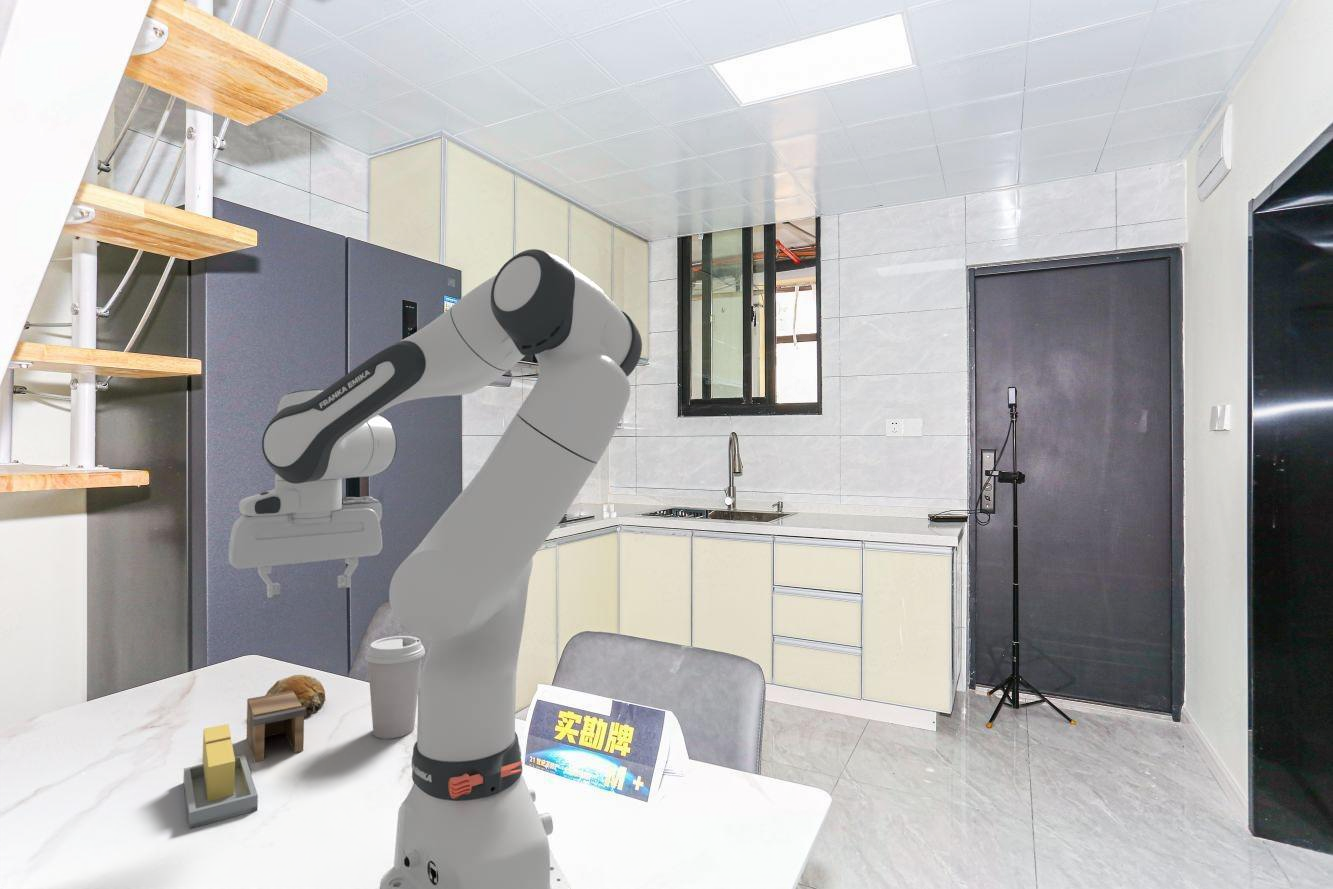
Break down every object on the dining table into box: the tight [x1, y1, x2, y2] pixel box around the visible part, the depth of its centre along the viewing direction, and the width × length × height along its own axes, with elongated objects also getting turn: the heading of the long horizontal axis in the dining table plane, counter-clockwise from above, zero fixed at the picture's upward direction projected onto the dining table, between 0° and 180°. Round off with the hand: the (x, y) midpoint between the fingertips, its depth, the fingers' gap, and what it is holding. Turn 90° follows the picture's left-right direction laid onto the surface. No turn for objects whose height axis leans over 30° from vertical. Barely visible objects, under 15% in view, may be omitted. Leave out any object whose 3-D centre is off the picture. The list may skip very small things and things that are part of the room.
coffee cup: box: [364, 635, 426, 740], centre depth 115 cm, size 10×10×15 cm
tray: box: [183, 754, 259, 830], centre depth 93 cm, size 14×7×2 cm, turn 38°
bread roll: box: [265, 674, 326, 718], centre depth 123 cm, size 10×10×8 cm
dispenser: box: [246, 691, 306, 763], centre depth 109 cm, size 10×7×6 cm
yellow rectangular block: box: [202, 723, 236, 801], centre depth 95 cm, size 10×3×5 cm, turn 38°
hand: (309, 591), depth 100 cm, fingers open, 8 cm apart
